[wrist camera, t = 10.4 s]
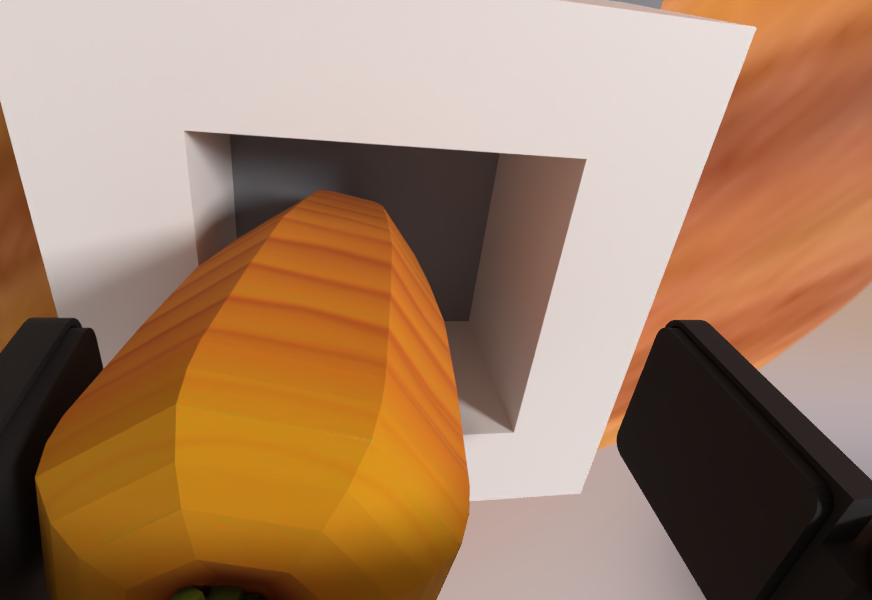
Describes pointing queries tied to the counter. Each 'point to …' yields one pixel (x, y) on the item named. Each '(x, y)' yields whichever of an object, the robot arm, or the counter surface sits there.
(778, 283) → the counter surface
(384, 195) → the socket stand
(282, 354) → the carrot
